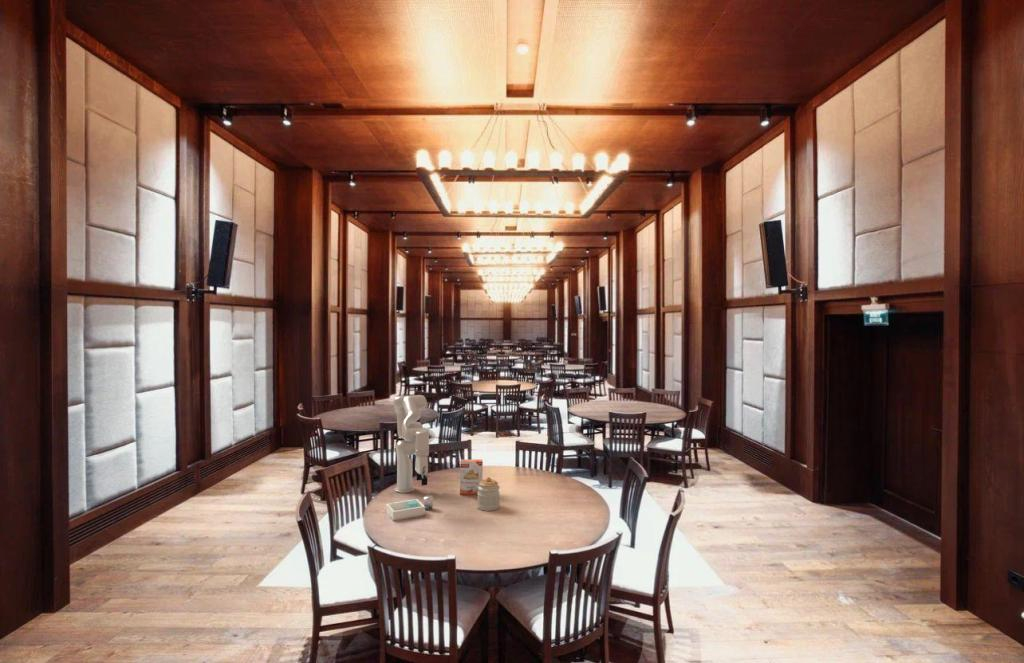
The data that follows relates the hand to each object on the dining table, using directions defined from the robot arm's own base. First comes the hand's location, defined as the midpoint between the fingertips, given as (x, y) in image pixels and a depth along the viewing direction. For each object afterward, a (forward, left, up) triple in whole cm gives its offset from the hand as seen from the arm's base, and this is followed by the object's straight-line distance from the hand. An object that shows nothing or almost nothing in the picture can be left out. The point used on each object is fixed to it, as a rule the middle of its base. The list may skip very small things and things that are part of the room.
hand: (421, 482), depth 302 cm
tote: (+1, -10, -16) cm, 19 cm away
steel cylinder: (-1, +4, -16) cm, 17 cm away
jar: (+12, +36, -16) cm, 42 cm away
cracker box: (-15, +37, -16) cm, 43 cm away
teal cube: (+1, -6, -15) cm, 16 cm away
